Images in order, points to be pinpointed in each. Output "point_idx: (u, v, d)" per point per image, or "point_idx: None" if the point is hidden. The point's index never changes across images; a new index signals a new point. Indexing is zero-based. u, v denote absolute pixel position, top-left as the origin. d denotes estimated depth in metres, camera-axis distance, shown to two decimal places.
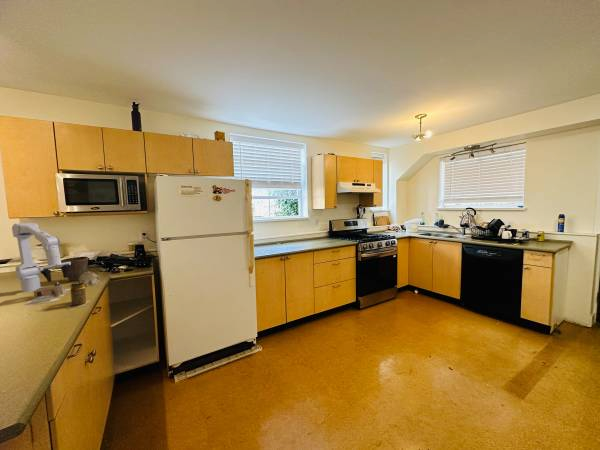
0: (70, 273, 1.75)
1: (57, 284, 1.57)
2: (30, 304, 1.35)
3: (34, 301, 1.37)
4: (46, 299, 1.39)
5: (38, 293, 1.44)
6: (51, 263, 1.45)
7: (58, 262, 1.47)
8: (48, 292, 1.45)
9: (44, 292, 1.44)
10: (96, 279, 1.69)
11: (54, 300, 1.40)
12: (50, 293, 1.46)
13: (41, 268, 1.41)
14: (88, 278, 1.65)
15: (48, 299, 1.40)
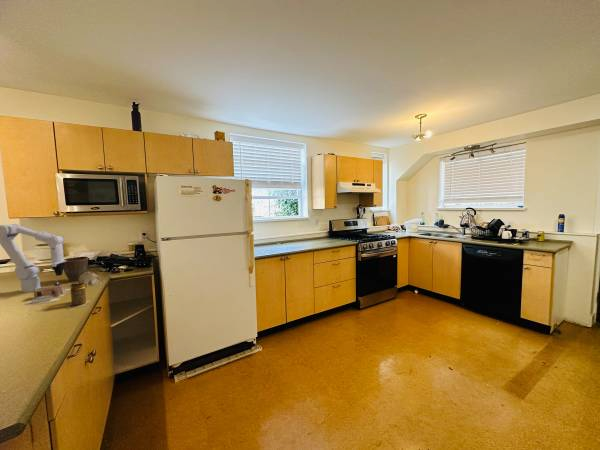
0: (70, 273, 1.75)
1: (57, 284, 1.57)
2: (30, 304, 1.35)
3: (34, 301, 1.37)
4: (46, 299, 1.39)
5: (38, 293, 1.44)
6: (59, 260, 1.59)
7: (63, 259, 1.62)
8: (48, 292, 1.45)
9: (44, 292, 1.44)
10: (96, 279, 1.69)
11: (54, 300, 1.40)
12: (50, 293, 1.46)
13: (55, 264, 1.55)
14: (88, 278, 1.65)
15: (48, 299, 1.40)
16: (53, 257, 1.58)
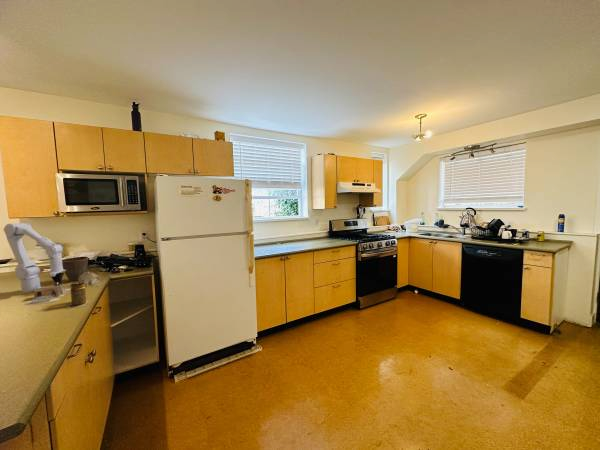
0: (70, 273, 1.75)
1: (57, 284, 1.56)
2: (30, 304, 1.35)
3: (34, 301, 1.37)
4: (45, 299, 1.39)
5: (38, 293, 1.44)
6: (58, 269, 1.57)
7: (62, 268, 1.60)
8: (48, 292, 1.45)
9: (44, 292, 1.44)
10: (96, 279, 1.69)
11: (54, 300, 1.40)
12: (50, 293, 1.46)
13: (54, 274, 1.53)
14: (88, 278, 1.65)
15: (48, 299, 1.39)
16: (52, 267, 1.55)
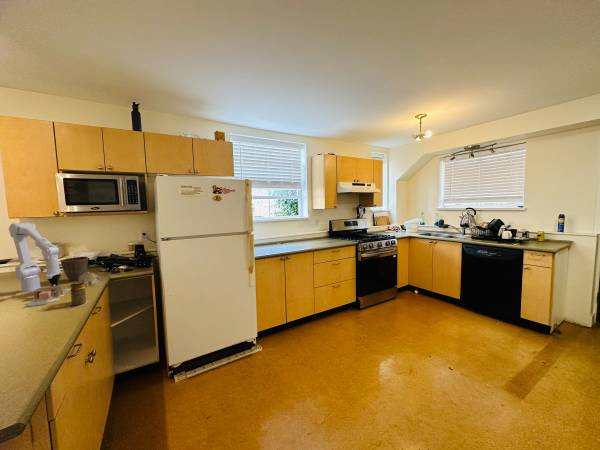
0: (70, 273, 1.75)
1: None
2: None
3: (29, 305, 1.32)
4: (41, 303, 1.34)
5: (38, 293, 1.44)
6: (55, 271, 1.52)
7: (59, 270, 1.55)
8: (45, 294, 1.41)
9: (40, 294, 1.40)
10: (96, 279, 1.68)
11: (54, 300, 1.40)
12: (47, 295, 1.42)
13: (51, 276, 1.48)
14: (88, 278, 1.65)
15: (44, 302, 1.35)
16: (48, 268, 1.51)
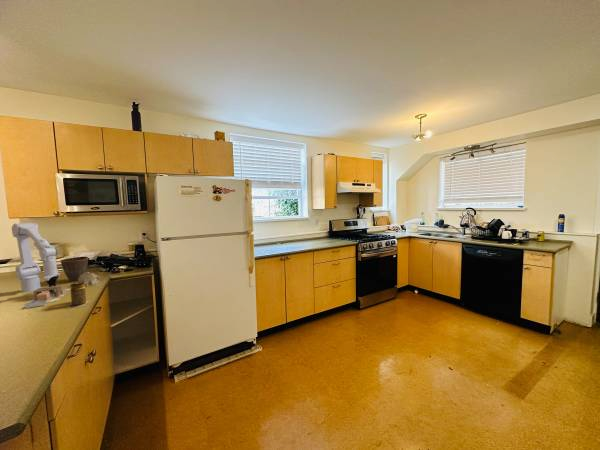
0: (70, 273, 1.75)
1: None
2: None
3: (27, 306, 1.30)
4: (39, 304, 1.32)
5: (38, 293, 1.44)
6: (52, 273, 1.49)
7: (57, 272, 1.52)
8: (43, 296, 1.39)
9: (38, 296, 1.38)
10: (96, 279, 1.68)
11: (54, 300, 1.40)
12: (45, 297, 1.39)
13: (48, 278, 1.45)
14: (88, 278, 1.65)
15: (42, 304, 1.33)
16: (46, 270, 1.47)
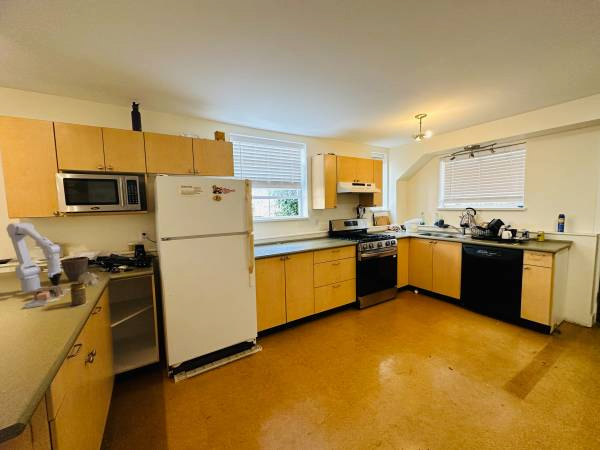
0: (70, 273, 1.75)
1: None
2: None
3: (27, 306, 1.30)
4: (39, 304, 1.32)
5: (38, 293, 1.44)
6: (56, 270, 1.54)
7: (60, 269, 1.57)
8: (43, 296, 1.39)
9: (38, 296, 1.38)
10: (96, 279, 1.68)
11: (54, 300, 1.40)
12: (45, 297, 1.39)
13: (52, 275, 1.50)
14: (88, 279, 1.64)
15: (42, 304, 1.33)
16: (49, 267, 1.52)
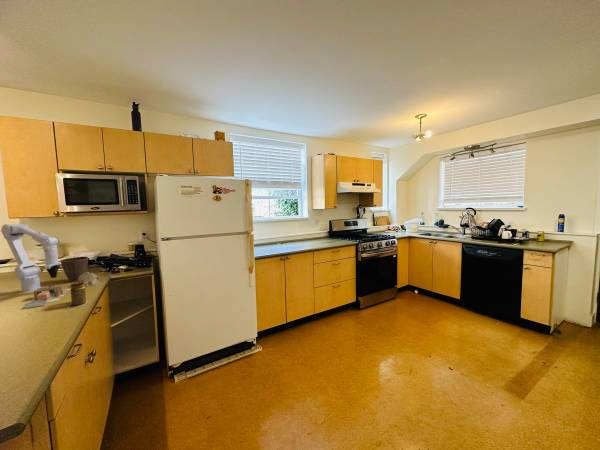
0: (70, 273, 1.75)
1: None
2: None
3: (27, 306, 1.30)
4: (39, 304, 1.32)
5: (38, 293, 1.44)
6: (54, 262, 1.54)
7: (58, 261, 1.57)
8: (43, 296, 1.39)
9: (38, 296, 1.38)
10: (96, 279, 1.68)
11: (54, 300, 1.40)
12: (45, 297, 1.39)
13: (49, 266, 1.50)
14: (88, 279, 1.64)
15: (42, 304, 1.33)
16: (47, 259, 1.52)
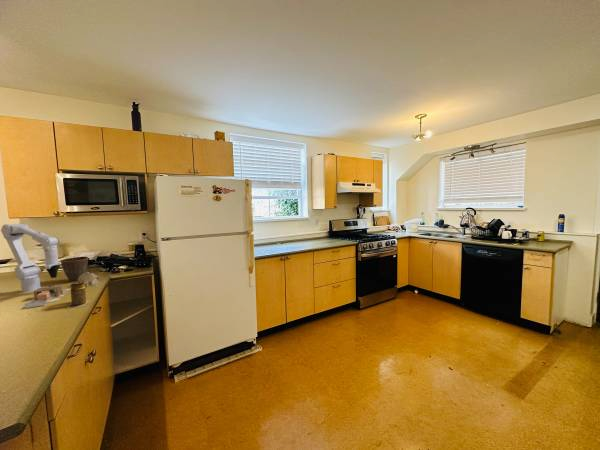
0: (70, 273, 1.75)
1: None
2: None
3: (27, 306, 1.30)
4: (39, 304, 1.32)
5: (38, 293, 1.44)
6: (54, 262, 1.54)
7: (58, 261, 1.57)
8: (43, 296, 1.39)
9: (38, 296, 1.38)
10: (96, 279, 1.68)
11: (54, 300, 1.40)
12: (45, 297, 1.39)
13: (49, 266, 1.50)
14: (88, 279, 1.64)
15: (42, 304, 1.33)
16: (47, 259, 1.52)
